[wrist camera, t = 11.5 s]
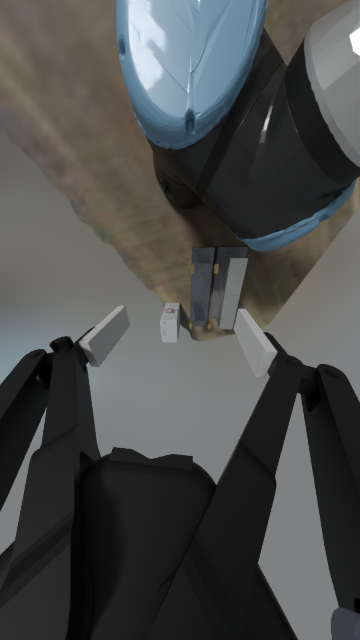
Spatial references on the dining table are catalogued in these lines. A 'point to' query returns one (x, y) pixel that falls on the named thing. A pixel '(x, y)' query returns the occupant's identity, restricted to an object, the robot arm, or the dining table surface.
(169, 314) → the ink box
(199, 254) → the stand
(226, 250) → the mat
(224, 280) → the rail
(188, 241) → the dining table surface
